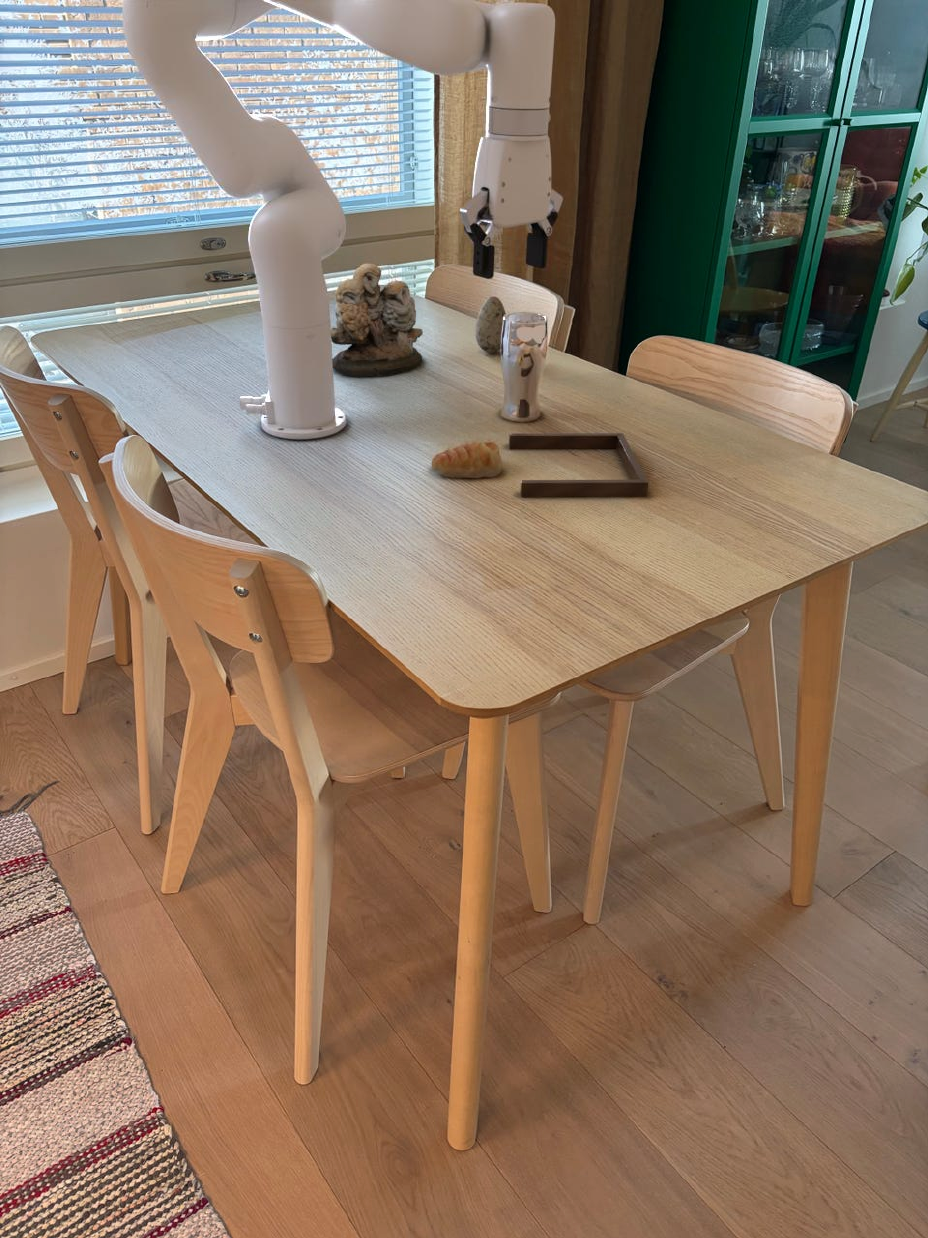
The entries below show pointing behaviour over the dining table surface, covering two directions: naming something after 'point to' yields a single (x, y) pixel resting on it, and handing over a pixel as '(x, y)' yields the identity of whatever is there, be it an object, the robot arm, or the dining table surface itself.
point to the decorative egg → (490, 325)
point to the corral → (582, 487)
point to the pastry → (469, 460)
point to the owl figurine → (374, 326)
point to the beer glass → (522, 364)
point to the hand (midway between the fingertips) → (509, 271)
